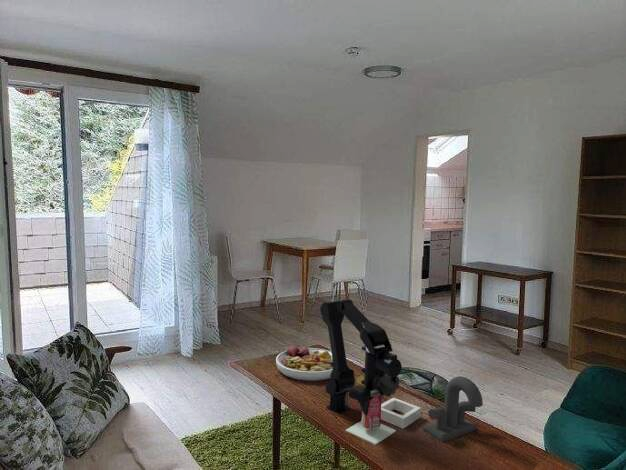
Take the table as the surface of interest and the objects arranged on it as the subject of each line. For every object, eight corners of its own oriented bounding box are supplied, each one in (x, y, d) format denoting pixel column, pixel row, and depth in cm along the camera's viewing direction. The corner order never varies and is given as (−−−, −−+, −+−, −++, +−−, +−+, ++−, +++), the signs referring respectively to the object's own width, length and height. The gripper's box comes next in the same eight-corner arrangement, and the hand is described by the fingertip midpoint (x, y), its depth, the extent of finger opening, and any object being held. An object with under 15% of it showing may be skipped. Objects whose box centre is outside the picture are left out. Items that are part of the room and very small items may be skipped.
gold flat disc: (350, 384, 195) (350, 379, 195) (370, 377, 202) (370, 372, 202) (371, 394, 186) (372, 389, 185) (391, 387, 193) (392, 381, 193)
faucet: (458, 454, 144) (462, 391, 142) (421, 431, 158) (424, 373, 156) (496, 439, 154) (500, 380, 152) (458, 418, 167) (462, 364, 165)
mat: (375, 444, 148) (375, 443, 148) (345, 431, 156) (345, 429, 156) (396, 431, 157) (396, 430, 157) (366, 418, 165) (366, 417, 165)
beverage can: (367, 420, 161) (369, 386, 159) (383, 426, 157) (385, 391, 155) (357, 426, 156) (359, 392, 155) (373, 433, 152) (375, 397, 151)
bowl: (357, 371, 208) (358, 354, 208) (307, 390, 188) (308, 371, 187) (311, 353, 230) (311, 337, 229) (262, 368, 210) (262, 351, 209)
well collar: (403, 428, 159) (403, 418, 158) (375, 416, 166) (375, 407, 166) (420, 417, 167) (420, 407, 167) (392, 406, 175) (393, 397, 174)
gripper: (377, 381, 142) (375, 431, 144) (409, 365, 156) (407, 411, 157) (348, 371, 149) (346, 418, 151) (381, 357, 163) (379, 400, 165)
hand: (371, 411), depth 156 cm, fingers closed on beverage can, 6 cm apart
